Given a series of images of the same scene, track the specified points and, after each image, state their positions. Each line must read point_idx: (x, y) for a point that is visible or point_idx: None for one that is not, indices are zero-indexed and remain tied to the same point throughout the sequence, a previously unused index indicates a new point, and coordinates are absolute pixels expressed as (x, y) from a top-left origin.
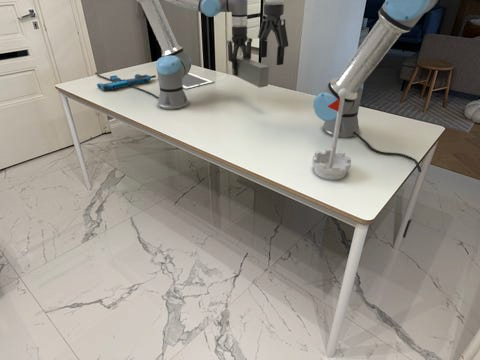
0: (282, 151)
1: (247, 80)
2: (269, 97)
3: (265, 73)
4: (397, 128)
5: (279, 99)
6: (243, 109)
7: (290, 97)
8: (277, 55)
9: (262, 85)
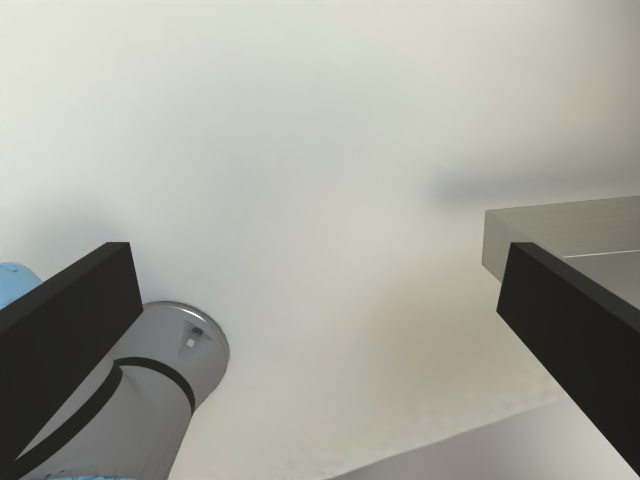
0: (72, 82)
1: (634, 198)
2: None
3: None
4: None
5: None
6: (516, 138)
7: (506, 367)
8: (32, 296)
9: (488, 231)
